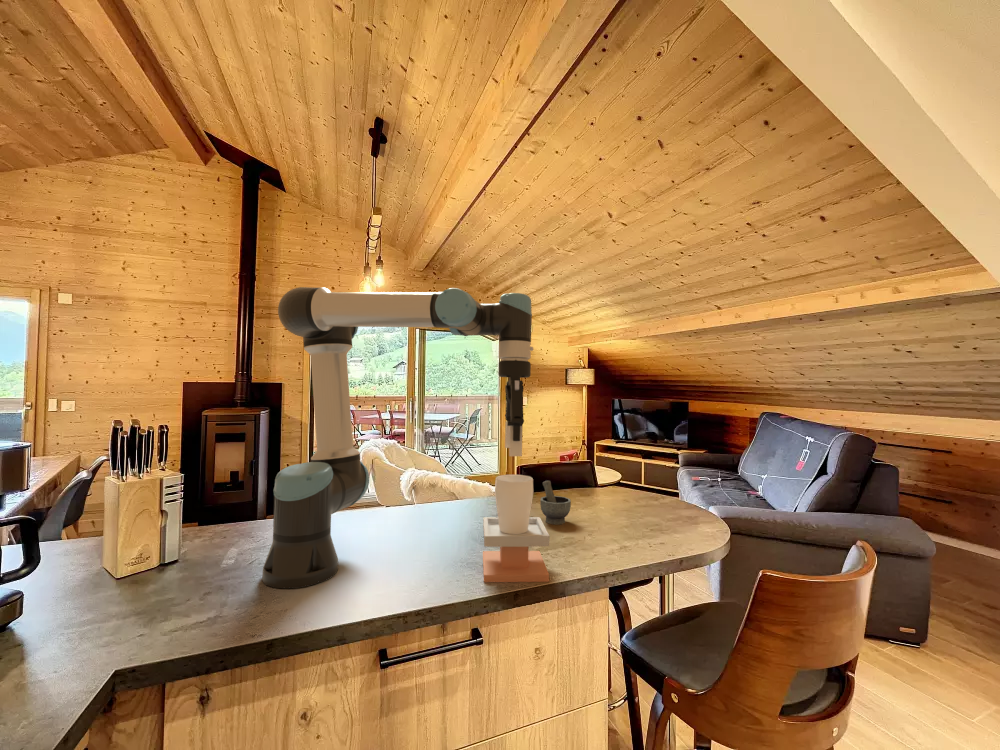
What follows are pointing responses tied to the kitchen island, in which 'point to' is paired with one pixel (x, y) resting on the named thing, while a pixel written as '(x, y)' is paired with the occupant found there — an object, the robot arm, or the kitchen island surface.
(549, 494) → the mortar and pestle
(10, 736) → the kitchen island surface
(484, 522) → the stand
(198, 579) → the kitchen island surface
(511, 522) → the cup
